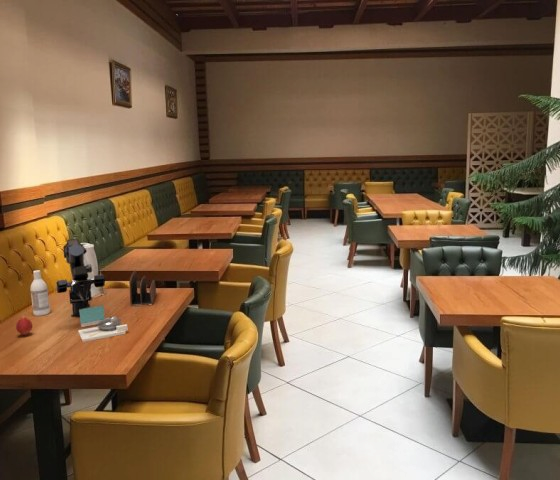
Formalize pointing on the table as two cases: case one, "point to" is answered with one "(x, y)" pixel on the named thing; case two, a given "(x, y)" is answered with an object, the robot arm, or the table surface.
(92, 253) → the skyscraper
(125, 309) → the table surface
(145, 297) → the letter holder
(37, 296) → the bath foam
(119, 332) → the plate
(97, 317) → the cam foot
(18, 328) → the onion
